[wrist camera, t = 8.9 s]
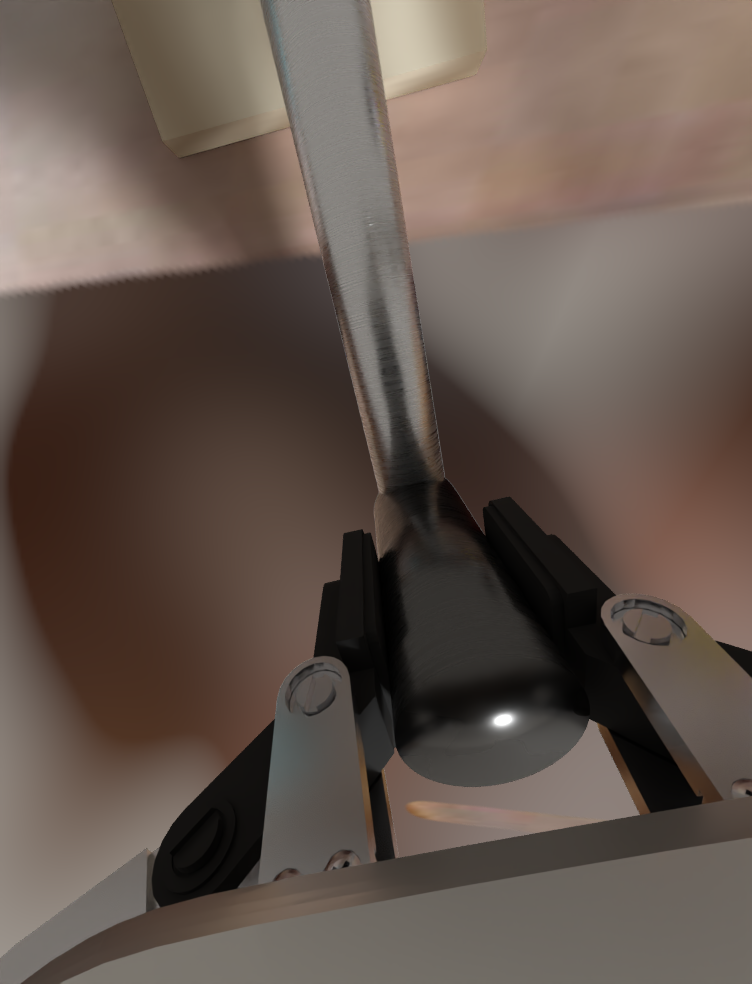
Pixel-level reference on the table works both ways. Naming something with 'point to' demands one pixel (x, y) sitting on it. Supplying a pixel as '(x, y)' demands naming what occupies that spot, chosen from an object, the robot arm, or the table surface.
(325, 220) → the shaft
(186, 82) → the frame
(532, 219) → the table surface
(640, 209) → the table surface
